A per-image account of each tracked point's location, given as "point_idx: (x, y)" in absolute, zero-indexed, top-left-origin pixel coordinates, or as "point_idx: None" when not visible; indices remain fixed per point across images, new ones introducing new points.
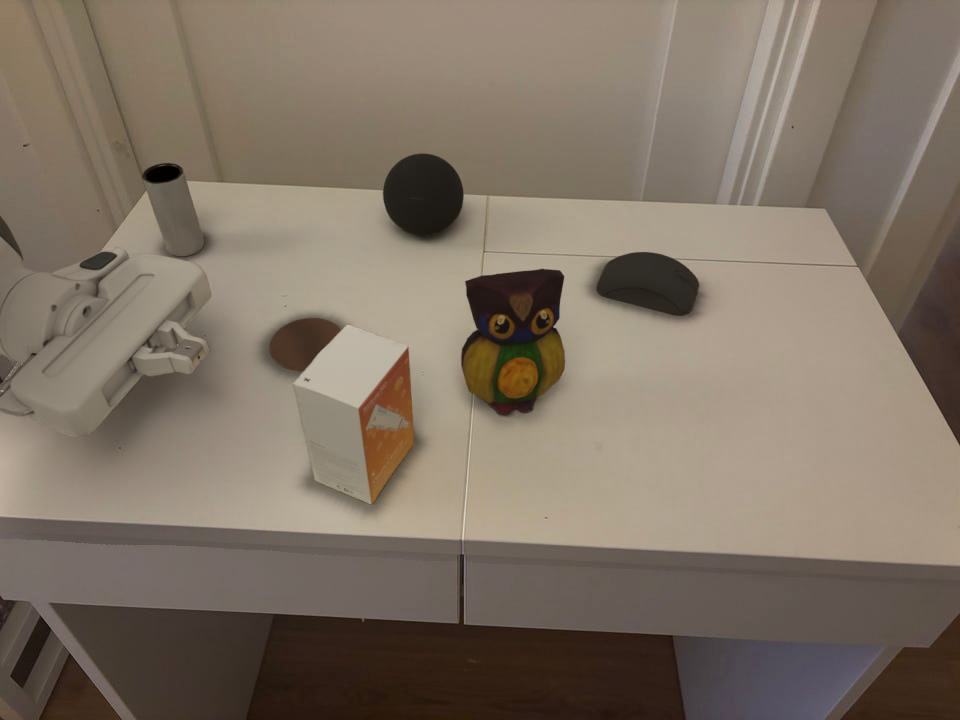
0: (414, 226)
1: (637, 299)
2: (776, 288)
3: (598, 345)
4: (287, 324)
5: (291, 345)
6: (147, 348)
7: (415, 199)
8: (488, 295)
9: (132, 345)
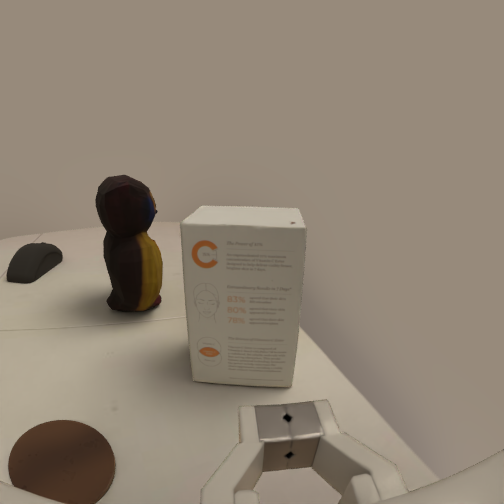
0: None
1: (46, 266)
2: (50, 243)
3: (82, 280)
4: None
5: (65, 480)
6: (358, 490)
7: None
8: (137, 183)
9: (399, 499)
